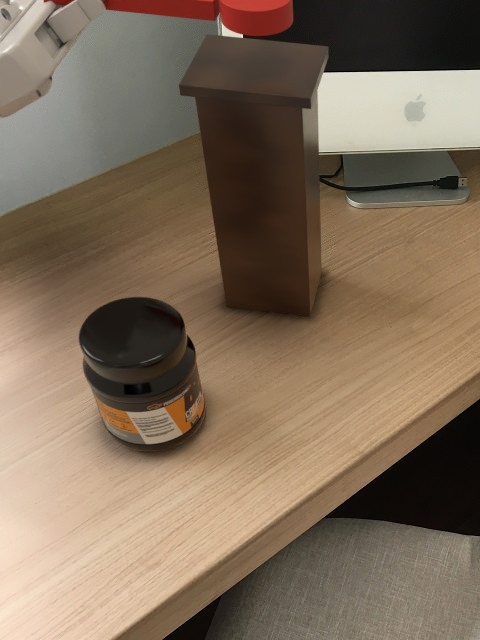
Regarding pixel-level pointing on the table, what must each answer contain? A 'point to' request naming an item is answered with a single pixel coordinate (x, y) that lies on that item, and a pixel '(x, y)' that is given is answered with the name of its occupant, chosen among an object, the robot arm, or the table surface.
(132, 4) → the red serving spoon
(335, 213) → the table surface
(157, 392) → the supplement container
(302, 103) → the walnut stand
